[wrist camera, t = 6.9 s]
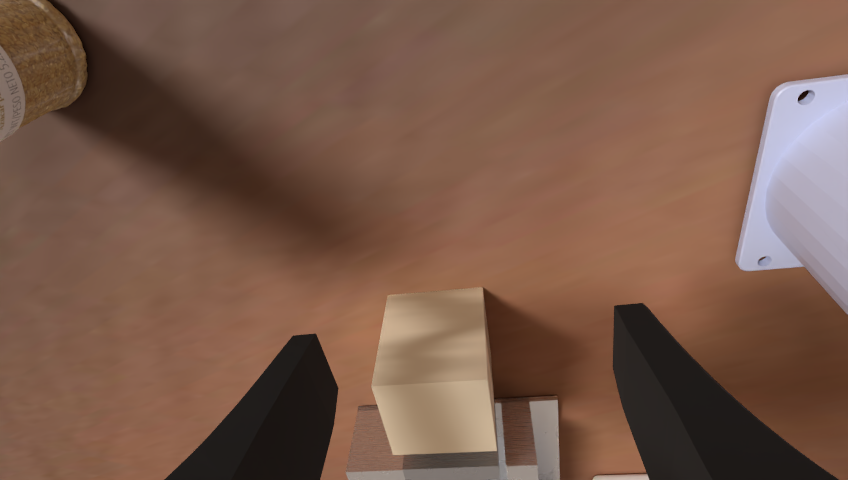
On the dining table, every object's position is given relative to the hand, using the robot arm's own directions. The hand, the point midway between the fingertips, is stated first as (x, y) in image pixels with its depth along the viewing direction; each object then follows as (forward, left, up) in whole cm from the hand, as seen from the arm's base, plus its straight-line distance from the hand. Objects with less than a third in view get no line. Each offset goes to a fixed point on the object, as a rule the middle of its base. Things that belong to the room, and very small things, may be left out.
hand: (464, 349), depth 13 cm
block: (+2, +8, -10) cm, 13 cm away
